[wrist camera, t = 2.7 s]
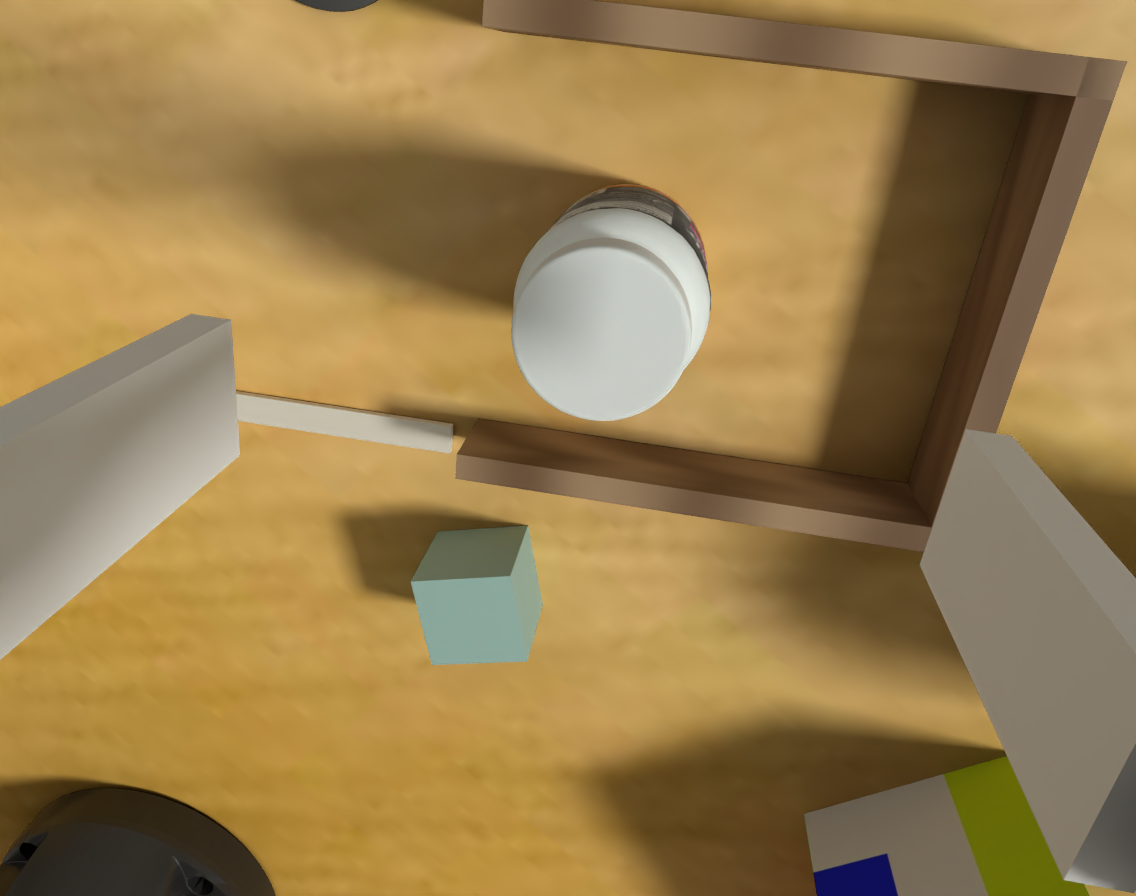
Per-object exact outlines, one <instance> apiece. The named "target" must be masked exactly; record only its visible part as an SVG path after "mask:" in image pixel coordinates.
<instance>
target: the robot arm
mask: <svg viewBox="0 0 1136 896" xmlns="http://www.w3.org/2000/svg"><path fill="white" fill-rule="evenodd" d="M238 456H240V447H239V432H238V417H237V402H236V386H235V371H234V356H233V341H232V326H231V320H229V319H222V318H215V317H209V316H202V315H195V314H190V315H188V316H186V317H184V318H182V319H180V320H178V321H176V322H174V323H172V324H170V325H168V326H165V327H163V328H161V329H159V330H157V331H155V332H153V333H151V334H149V335H147V336H145V337H143V338H141V339H139V340H137V341H135V342H133V343H131V344H129V345H127V346H125V347H123V348H120V349H118V350H116V351H114V352H112V353H110V354H108V355H106V356H104V357H102V358H100V359H98V360H96V361H94V362H92V363H90V364H88V365H86V366H84V367H82V368H80V369H77V370H75V371H73V372H71V373H69V374H67V375H65V376H63V377H61V378H59V379H57V380H55V381H53V382H51V383H49V384H47V385H45V386H43V387H41V388H39V389H37V390H35V391H32V392H30V393H28V394H26V395H24V396H22V397H20V398H18V399H16V400H14V401H12V402H10V403H8V404H6V405H4V406H2V407H0V660H1V659H2V658H3V657H4V656H5V655H6V654H8V653H9V652H10V651H11V650H12V649H13V648H15V647H16V646H17V645H18V644H19V643H20V642H22V641H23V640H24V639H25V638H26V637H28V636H29V635H30V634H31V633H32V632H33V631H35V630H36V629H37V628H38V627H39V626H40V625H42V624H43V623H44V622H45V621H46V620H47V619H49V618H50V617H51V616H52V615H53V614H54V613H56V612H57V611H58V610H59V609H60V608H61V607H63V606H64V605H65V604H66V603H67V602H69V601H70V600H71V599H72V598H73V597H74V596H76V595H77V594H78V593H79V592H80V591H81V590H83V589H84V588H85V587H86V586H87V585H88V584H90V583H91V582H92V581H93V580H94V579H95V578H97V577H98V576H99V575H100V574H101V573H102V572H104V571H105V570H106V569H107V568H108V567H110V566H111V565H112V564H113V563H114V562H115V561H117V560H118V559H119V558H120V557H121V556H122V555H124V554H125V553H126V552H127V551H128V550H129V549H131V548H132V547H133V546H134V545H135V544H136V543H138V542H139V541H140V540H141V539H142V538H144V537H145V536H146V535H147V534H148V533H149V532H151V531H152V530H153V529H154V528H155V527H156V526H158V525H159V524H160V523H161V522H162V521H163V520H165V519H166V518H167V517H168V516H169V515H170V514H172V513H173V512H174V511H175V510H176V509H177V508H179V507H180V506H181V505H182V504H183V503H185V502H186V501H187V500H188V499H189V498H190V497H192V496H193V495H194V494H195V493H196V492H197V491H199V490H200V489H201V488H202V487H203V486H204V485H206V484H207V483H208V482H209V481H210V480H211V479H213V478H214V477H215V476H216V475H217V474H218V473H220V472H221V471H222V470H223V469H224V468H226V467H227V466H228V465H229V464H230V463H231V462H233V461H234V460H235V459H236V458H237V457H238ZM920 567H921V569H922V571H923V574H924V576H925V578H926V580H927V582H928V584H929V587H930V589H931V591H932V593H933V595H934V598H935V600H936V602H937V604H938V606H939V609H940V611H941V613H942V615H943V617H944V619H945V622H946V624H947V626H948V628H949V630H950V633H951V635H952V637H953V639H954V641H955V643H956V646H957V648H958V650H959V652H960V654H961V657H962V659H963V661H964V663H965V665H966V668H967V670H968V672H969V674H970V676H971V678H972V681H973V683H974V685H975V687H976V689H977V692H978V694H979V696H980V698H981V700H982V702H983V705H984V707H985V709H986V711H987V713H988V716H989V718H990V720H991V722H992V724H993V727H994V729H995V731H996V733H997V735H998V737H999V740H1000V742H1001V744H1002V746H1003V748H1004V751H1005V753H1006V755H1007V757H1008V759H1009V761H1010V764H1011V766H1012V768H1013V770H1014V772H1015V775H1016V777H1017V779H1018V781H1019V783H1020V786H1021V788H1022V790H1023V792H1024V794H1025V796H1026V799H1027V801H1028V803H1029V805H1030V807H1031V810H1032V812H1033V814H1034V816H1035V818H1036V821H1037V823H1038V825H1039V827H1040V829H1041V831H1042V834H1043V836H1044V838H1045V840H1046V842H1047V845H1048V847H1049V849H1050V851H1051V853H1052V855H1053V858H1054V860H1055V862H1056V864H1057V866H1058V869H1059V871H1060V873H1061V875H1062V877H1063V880H1067V881H1072V882H1077V883H1083V884H1088V885H1093V886H1099V887H1104V888H1109V889H1115V890H1120V891H1125V892H1131V893H1134V892H1135V891H1136V578H1135V577H1134V576H1133V575H1132V574H1131V572H1130V571H1129V570H1128V569H1127V568H1126V567H1125V566H1124V564H1123V563H1122V562H1121V561H1120V560H1119V559H1118V557H1117V556H1116V555H1115V554H1114V553H1113V552H1112V551H1111V549H1110V548H1109V547H1108V546H1107V545H1106V544H1105V543H1104V541H1103V540H1102V539H1101V538H1100V537H1099V536H1098V534H1097V533H1096V532H1095V531H1094V530H1093V529H1092V528H1091V526H1090V525H1089V524H1088V523H1087V522H1086V521H1085V520H1084V518H1083V517H1082V516H1081V515H1080V514H1079V513H1078V511H1077V510H1076V509H1075V508H1074V507H1073V506H1072V505H1071V503H1070V502H1069V501H1068V500H1067V499H1066V498H1065V497H1064V495H1063V494H1062V493H1061V492H1060V491H1059V490H1058V488H1057V487H1056V486H1055V485H1054V484H1053V483H1052V482H1051V480H1050V479H1049V478H1048V477H1047V476H1046V475H1045V474H1044V472H1043V471H1042V470H1041V469H1040V468H1039V467H1038V465H1037V464H1036V463H1035V462H1034V461H1033V460H1032V459H1031V457H1030V456H1029V455H1028V454H1027V453H1026V452H1025V451H1024V449H1023V448H1022V447H1021V446H1020V445H1019V444H1018V443H1017V441H1016V440H1015V439H1014V438H1013V437H1012V436H1009V435H1002V434H995V433H988V432H982V431H975V430H968V429H966V430H965V433H964V436H963V439H962V442H961V445H960V447H959V450H958V453H957V456H956V459H955V462H954V465H953V468H952V471H951V474H950V477H949V480H948V483H947V486H946V489H945V492H944V495H943V498H942V500H941V503H940V506H939V509H938V512H937V515H936V518H935V521H934V524H933V527H932V530H931V533H930V536H929V539H928V542H927V545H926V548H925V551H924V553H923V556H922V559H921V562H920ZM0 896H275V892H274V890H273V887H272V885H271V883H270V881H269V879H268V877H267V875H266V873H265V872H264V870H263V869H262V867H261V866H260V864H259V863H258V862H257V860H256V859H255V858H254V857H253V856H252V854H251V853H250V852H249V851H248V850H247V849H246V848H245V847H244V846H243V845H242V844H241V843H240V842H239V841H238V840H237V839H235V838H234V837H233V836H232V835H231V834H230V833H228V832H227V831H226V830H224V829H223V828H222V827H220V826H219V825H217V824H216V823H214V822H213V821H211V820H210V819H208V818H206V817H205V816H203V815H201V814H199V813H198V812H196V811H194V810H192V809H190V808H188V807H185V806H183V805H181V804H179V803H176V802H173V801H171V800H168V799H165V798H162V797H159V796H155V795H152V794H148V793H143V792H139V791H133V790H126V789H113V788H100V789H89V790H83V791H78V792H74V793H71V794H68V795H65V796H63V797H61V798H59V799H57V800H55V801H53V802H52V803H50V804H49V805H47V806H46V807H45V808H44V809H43V810H42V811H41V812H40V813H39V814H38V815H37V816H36V817H35V819H34V820H33V821H32V822H31V823H30V824H29V826H28V827H27V828H26V829H25V830H24V831H23V832H22V834H21V835H20V836H19V837H18V838H17V839H16V840H15V842H14V843H13V845H12V846H11V847H10V849H9V851H8V852H7V854H6V856H5V857H4V860H3V862H2V864H1V866H0Z"/></svg>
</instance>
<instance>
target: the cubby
mask: <svg viewBox="0 0 1136 896" xmlns="http://www.w3.org/2000/svg"><path fill="white" fill-rule="evenodd" d="M482 26H483V27H487V28H491V29H495V30H499V31H503V32H510V33H518V34H527V35H535V36H543V37H552V38H560V39H569V40H577V41H586V42H594V43H603V44H611V45H620V46H628V47H637V48H645V49H654V50H662V51H671V52H679V53H687V54H696V55H704V56H713V57H721V58H730V59H738V60H747V61H755V62H764V63H772V64H781V65H789V66H798V67H806V68H815V69H823V70H831V71H840V72H848V73H857V74H865V75H874V76H882V77H891V78H899V79H908V80H916V81H925V82H933V83H942V84H950V85H959V86H967V87H976V88H984V89H992V90H1001V91H1009V92H1018V93H1026V94H1029V97H1028V100H1027V104H1026V107H1025V110H1024V113H1023V116H1022V120H1021V123H1020V126H1019V129H1018V132H1017V136H1016V139H1015V142H1014V145H1013V148H1012V152H1011V155H1010V158H1009V161H1008V164H1007V167H1006V171H1005V174H1004V177H1003V180H1002V183H1001V187H1000V190H999V193H998V196H997V199H996V203H995V206H994V209H993V212H992V215H991V218H990V222H989V225H988V228H987V231H986V234H985V238H984V241H983V244H982V247H981V250H980V254H979V257H978V260H977V263H976V266H975V270H974V273H973V276H972V279H971V282H970V285H969V289H968V292H967V295H966V298H965V301H964V305H963V308H962V311H961V314H960V317H959V321H958V324H957V327H956V330H955V333H954V337H953V340H952V343H951V346H950V349H949V352H948V356H947V359H946V362H945V365H944V368H943V372H942V375H941V378H940V381H939V384H938V388H937V391H936V394H935V397H934V400H933V403H932V407H931V410H930V413H929V416H928V419H927V423H926V426H925V429H924V432H923V435H922V439H921V442H920V445H919V448H918V451H917V455H916V458H915V461H914V464H913V467H912V470H911V474H910V477H909V480H908V483H901V482H894V481H888V480H881V479H875V478H868V477H861V476H855V475H848V474H842V473H835V472H828V471H822V470H815V469H809V468H802V467H795V466H789V465H782V464H776V463H769V462H762V461H756V460H749V459H743V458H736V457H729V456H723V455H716V454H709V453H703V452H696V451H690V450H683V449H676V448H670V447H663V446H657V445H650V444H643V443H637V442H630V441H624V440H617V439H610V438H604V437H597V436H591V435H584V434H577V433H571V432H564V431H558V430H551V429H544V428H538V427H531V426H525V425H518V424H511V423H505V422H498V421H491V420H485V419H478V420H477V422H476V423H475V425H474V427H473V428H472V430H471V432H470V433H469V435H468V437H467V438H466V440H465V442H464V443H463V445H462V447H461V448H460V450H459V452H458V453H457V461H456V478H455V479H461V480H468V481H474V482H480V483H487V484H493V485H499V486H506V487H512V488H519V489H525V490H531V491H538V492H544V493H550V494H557V495H563V496H570V497H576V498H582V499H589V500H595V501H601V502H608V503H614V504H621V505H627V506H633V507H640V508H646V509H652V510H659V511H665V512H672V513H678V514H684V515H691V516H697V517H703V518H710V519H716V520H723V521H729V522H735V523H742V524H748V525H754V526H761V527H767V528H774V529H780V530H786V531H793V532H799V533H805V534H812V535H818V536H825V537H831V538H837V539H844V540H850V541H856V542H863V543H869V544H876V545H882V546H888V547H895V548H901V549H908V550H914V551H920V552H924V551H925V548H926V545H927V542H928V539H929V536H930V533H931V530H932V527H933V524H934V521H935V518H936V515H937V512H938V509H939V506H940V503H941V500H942V498H943V495H944V492H945V489H946V486H947V483H948V480H949V477H950V474H951V471H952V468H953V465H954V462H955V459H956V456H957V453H958V450H959V447H960V445H961V442H962V439H963V436H964V433H965V430H966V429H968V430H975V431H982V432H988V433H995V434H996V431H997V428H998V425H999V422H1000V420H1001V417H1002V414H1003V411H1004V408H1005V405H1006V403H1007V400H1008V397H1009V394H1010V391H1011V388H1012V386H1013V383H1014V380H1015V377H1016V374H1017V372H1018V369H1019V366H1020V363H1021V360H1022V357H1023V355H1024V352H1025V349H1026V346H1027V343H1028V340H1029V338H1030V335H1031V332H1032V329H1033V326H1034V323H1035V321H1036V318H1037V315H1038V312H1039V309H1040V306H1041V304H1042V301H1043V298H1044V295H1045V292H1046V289H1047V287H1048V284H1049V281H1050V278H1051V275H1052V272H1053V270H1054V267H1055V264H1056V261H1057V258H1058V255H1059V253H1060V250H1061V247H1062V244H1063V241H1064V238H1065V236H1066V233H1067V230H1068V227H1069V224H1070V221H1071V219H1072V216H1073V213H1074V210H1075V207H1076V204H1077V202H1078V199H1079V196H1080V193H1081V190H1082V188H1083V185H1084V182H1085V179H1086V176H1087V173H1088V171H1089V168H1090V165H1091V162H1092V159H1093V156H1094V154H1095V151H1096V148H1097V145H1098V142H1099V139H1100V137H1101V134H1102V131H1103V128H1104V125H1105V122H1106V120H1107V117H1108V114H1109V111H1110V108H1111V105H1112V103H1113V100H1114V97H1115V94H1116V91H1117V88H1118V86H1119V83H1120V80H1121V77H1122V74H1123V71H1124V69H1125V66H1126V63H1127V61H1118V60H1110V59H1101V58H1092V57H1083V56H1075V55H1066V54H1057V53H1048V52H1040V51H1031V50H1022V49H1013V48H1005V47H996V46H987V45H979V44H970V43H961V42H952V41H944V40H935V39H926V38H917V37H909V36H900V35H891V34H882V33H874V32H865V31H856V30H847V29H839V28H830V27H821V26H813V25H804V24H795V23H786V22H778V21H769V20H760V19H751V18H743V17H734V16H725V15H716V14H708V13H699V12H690V11H682V10H673V9H664V8H655V7H647V6H638V5H629V4H620V3H612V2H603V1H594V0H484V2H483V19H482Z"/></svg>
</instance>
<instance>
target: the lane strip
mask: <svg viewBox="0 0 1136 896" xmlns="http://www.w3.org/2000/svg"><path fill="white" fill-rule="evenodd" d="M236 402H237V417H238V421H243V422H249V423H256V424H262V425H268V426H275V427H281V428H288V429H294V430H301V431H307V432H314V433H320V434H327V435H333V436H340V437H346V438H352V439H359V440H365V441H372V442H378V443H385V444H391V445H398V446H404V447H411V448H417V449H424V450H430V451H437V452H443V453H449V454H450V453H451V452H452V443H453V425H454V424H451V423H444V422H438V421H431V420H425V419H418V418H411V417H405V416H398V415H392V414H385V413H379V412H372V411H365V410H359V409H352V408H346V407H339V406H333V405H326V404H319V403H313V402H306V401H300V400H293V399H287V398H280V397H273V396H267V395H260V394H254V393H247V392H241V391H236Z"/></svg>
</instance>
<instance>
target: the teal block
mask: <svg viewBox="0 0 1136 896" xmlns="http://www.w3.org/2000/svg"><path fill="white" fill-rule="evenodd" d="M411 585H412V589H413V593H414V597H415V601H416V605H417V609H418V612H419V616H420V620H421V624H422V628H423V632H424V636H425V640H426V644H427V647H428V651H429V655H430V659H431V663H432V665H441V664H468V663H495V662H523V661H528V657H529V653H530V650H531V646H532V642H533V639H534V635H535V631H536V628H537V624H538V620H539V617H540V613H541V609H542V605H543V604H542V598H541V593H540V587H539V582H538V577H537V571H536V566H535V560H534V555H533V550H532V544H531V539H530V534H529V528H528V525H527V526H512V527H497V528H482V529H468V530H453V531H438V532H437V534H436V536H435V538H434V539H433V541H432V543H431V545H430V547H429V549H428V550H427V552H426V554H425V556H424V558H423V560H422V562H421V563H420V565H419V567H418V569H417V571H416V573H415V574H414V576H413V578H412V580H411Z"/></svg>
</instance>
